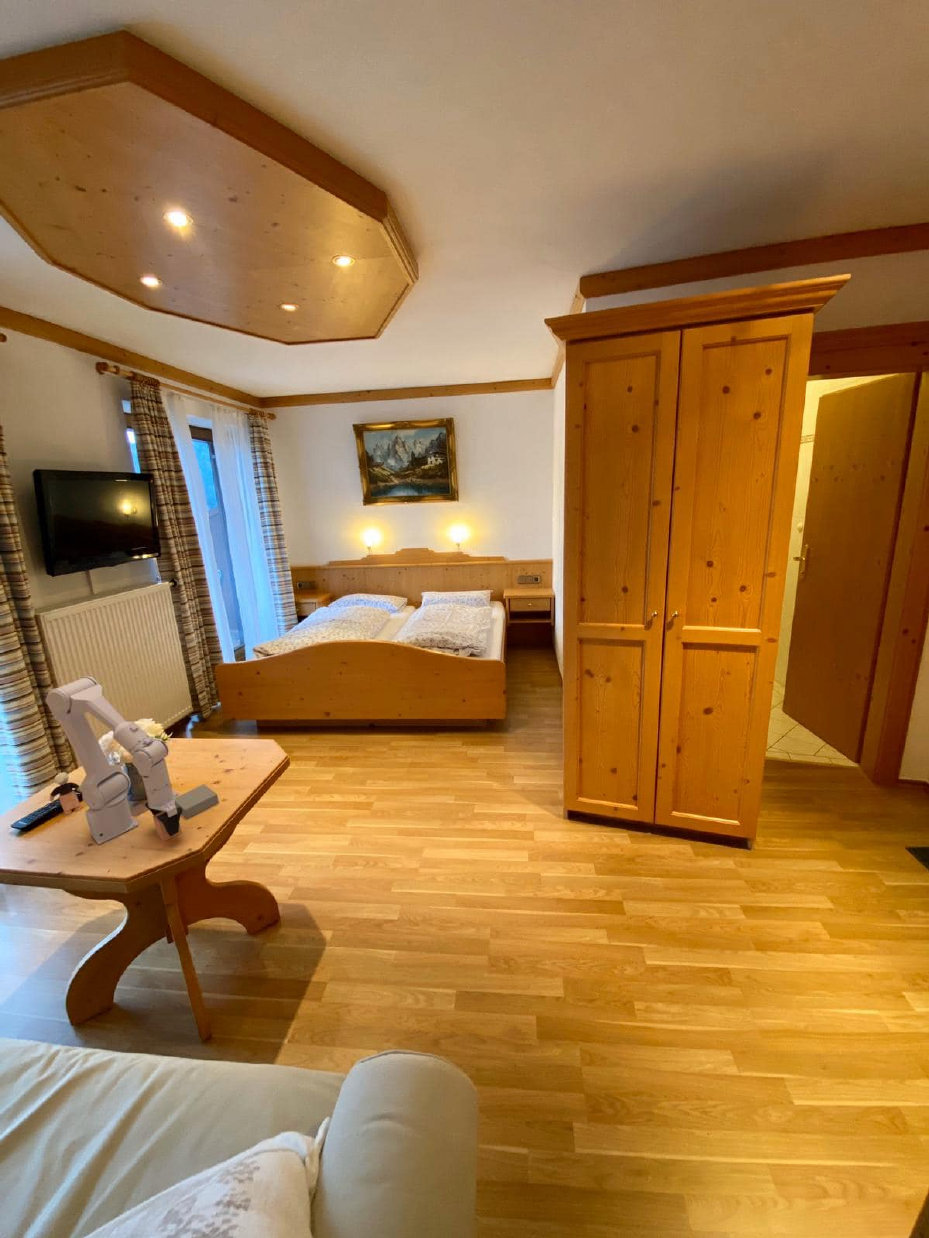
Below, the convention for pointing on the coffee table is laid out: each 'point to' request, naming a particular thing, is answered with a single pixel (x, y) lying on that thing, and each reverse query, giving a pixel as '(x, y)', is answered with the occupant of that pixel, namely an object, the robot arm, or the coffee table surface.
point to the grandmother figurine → (66, 793)
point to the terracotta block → (163, 828)
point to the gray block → (196, 801)
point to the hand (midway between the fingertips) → (168, 828)
